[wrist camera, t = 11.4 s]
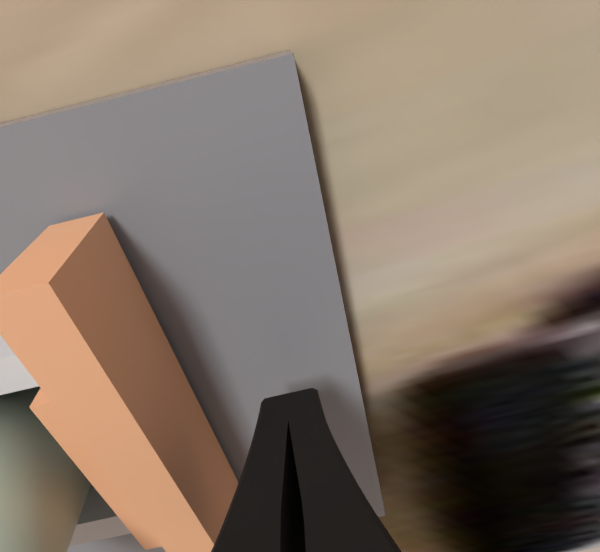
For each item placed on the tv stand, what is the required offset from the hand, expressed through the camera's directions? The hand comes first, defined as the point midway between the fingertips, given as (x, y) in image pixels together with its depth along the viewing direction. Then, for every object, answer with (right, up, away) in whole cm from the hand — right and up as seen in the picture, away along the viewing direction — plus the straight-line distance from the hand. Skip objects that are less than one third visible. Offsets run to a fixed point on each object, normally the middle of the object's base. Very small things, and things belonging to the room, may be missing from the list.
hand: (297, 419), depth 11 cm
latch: (-4, 0, +1) cm, 4 cm away
